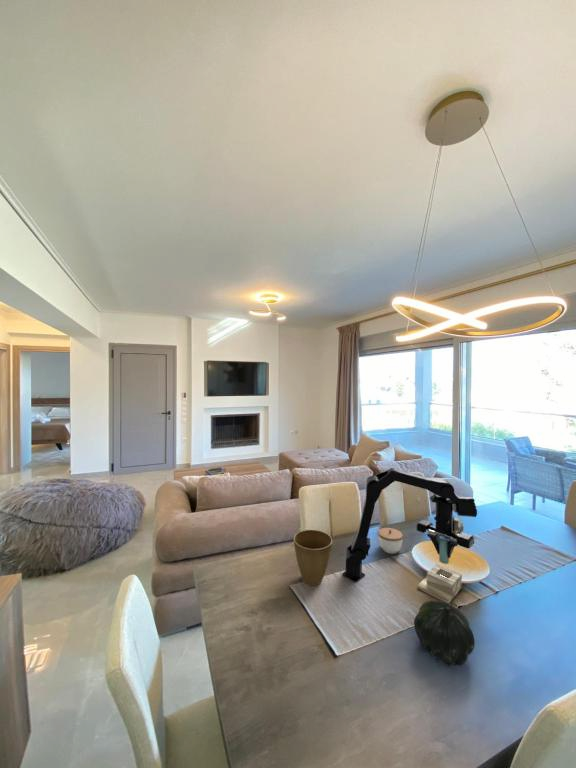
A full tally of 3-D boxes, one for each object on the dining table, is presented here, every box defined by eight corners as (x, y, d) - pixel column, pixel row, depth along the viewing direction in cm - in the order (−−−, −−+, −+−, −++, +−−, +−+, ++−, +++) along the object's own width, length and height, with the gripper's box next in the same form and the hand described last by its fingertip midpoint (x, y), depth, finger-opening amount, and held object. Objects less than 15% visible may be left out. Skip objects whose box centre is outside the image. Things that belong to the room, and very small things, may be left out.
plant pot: (286, 585, 117) (286, 542, 117) (303, 564, 130) (303, 526, 130) (323, 597, 110) (323, 552, 110) (337, 574, 123) (337, 534, 123)
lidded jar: (406, 556, 136) (406, 535, 136) (381, 556, 137) (381, 535, 137) (398, 544, 147) (398, 524, 147) (375, 543, 147) (375, 524, 147)
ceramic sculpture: (469, 517, 156) (451, 526, 149) (470, 534, 156) (452, 543, 149) (449, 510, 165) (431, 517, 158) (450, 526, 166) (432, 534, 158)
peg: (446, 564, 114) (446, 542, 114) (437, 561, 116) (437, 539, 116) (450, 561, 116) (450, 540, 116) (441, 557, 118) (441, 536, 118)
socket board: (448, 603, 107) (448, 589, 107) (417, 588, 115) (417, 574, 115) (461, 587, 116) (461, 574, 116) (431, 574, 124) (431, 561, 124)
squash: (426, 601, 101) (418, 582, 93) (479, 625, 91) (476, 607, 83) (414, 651, 93) (404, 635, 85) (472, 684, 83) (466, 669, 75)
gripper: (479, 515, 114) (479, 558, 114) (428, 501, 128) (428, 539, 128) (468, 524, 107) (468, 570, 107) (415, 508, 121) (415, 549, 121)
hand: (444, 555), depth 116 cm, fingers closed on peg, 3 cm apart
